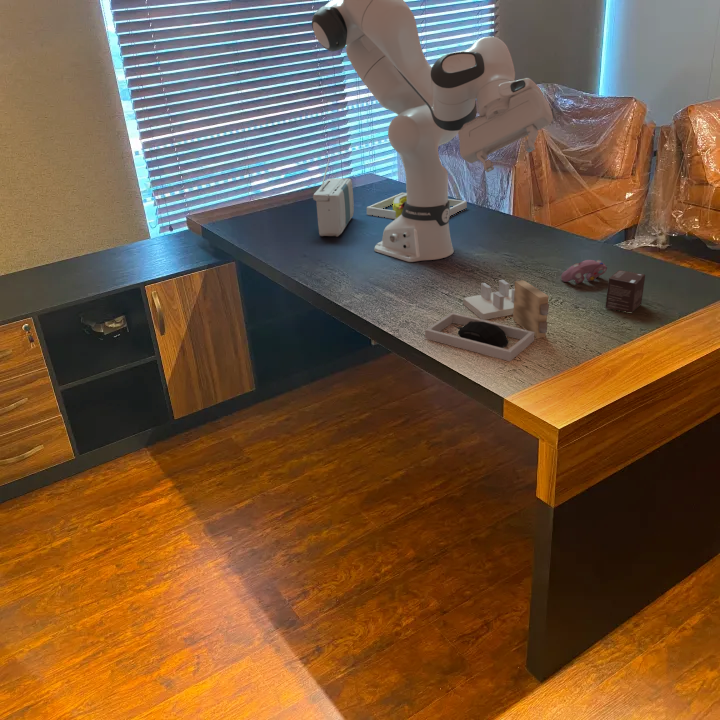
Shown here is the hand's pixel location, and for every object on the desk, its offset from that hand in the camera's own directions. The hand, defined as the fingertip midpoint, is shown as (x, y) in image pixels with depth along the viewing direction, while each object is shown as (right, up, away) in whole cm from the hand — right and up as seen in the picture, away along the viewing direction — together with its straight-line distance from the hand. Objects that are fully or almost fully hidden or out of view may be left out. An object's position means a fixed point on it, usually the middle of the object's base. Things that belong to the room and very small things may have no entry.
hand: (509, 160), depth 145 cm
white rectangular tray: (-12, +8, +87) cm, 89 cm away
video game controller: (+24, -22, +27) cm, 42 cm away
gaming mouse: (-6, -37, +3) cm, 37 cm away
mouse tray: (-6, -37, +1) cm, 37 cm away
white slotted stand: (+1, -29, +16) cm, 33 cm away
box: (+28, -29, +12) cm, 42 cm away
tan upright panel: (+5, -34, +5) cm, 35 cm away
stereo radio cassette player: (-38, 0, +77) cm, 86 cm away
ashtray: (-12, +7, +88) cm, 89 cm away
